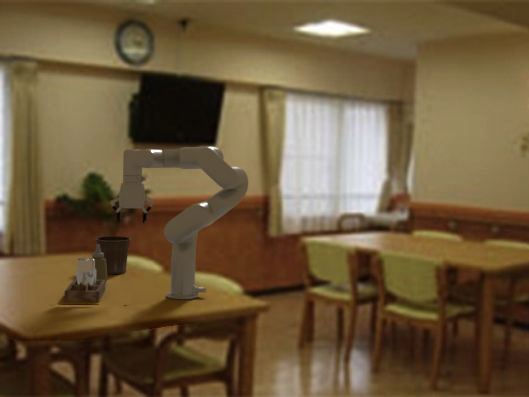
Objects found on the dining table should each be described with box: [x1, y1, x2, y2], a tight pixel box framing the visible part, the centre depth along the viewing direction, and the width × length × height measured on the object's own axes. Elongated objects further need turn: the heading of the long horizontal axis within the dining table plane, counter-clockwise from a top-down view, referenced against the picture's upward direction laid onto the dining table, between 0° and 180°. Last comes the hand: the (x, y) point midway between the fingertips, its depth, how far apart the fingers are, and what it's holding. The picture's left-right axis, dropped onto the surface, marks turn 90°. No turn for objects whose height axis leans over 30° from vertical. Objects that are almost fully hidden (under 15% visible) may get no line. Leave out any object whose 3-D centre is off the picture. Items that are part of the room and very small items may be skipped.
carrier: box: [64, 279, 107, 306], centre depth 267 cm, size 12×23×5 cm, turn 7°
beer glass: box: [75, 257, 95, 291], centre depth 262 cm, size 7×7×15 cm
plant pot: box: [94, 235, 132, 276], centre depth 323 cm, size 16×16×16 cm
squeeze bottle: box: [91, 244, 109, 282], centre depth 288 cm, size 8×8×18 cm
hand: (131, 222), depth 279 cm, fingers open, 9 cm apart
